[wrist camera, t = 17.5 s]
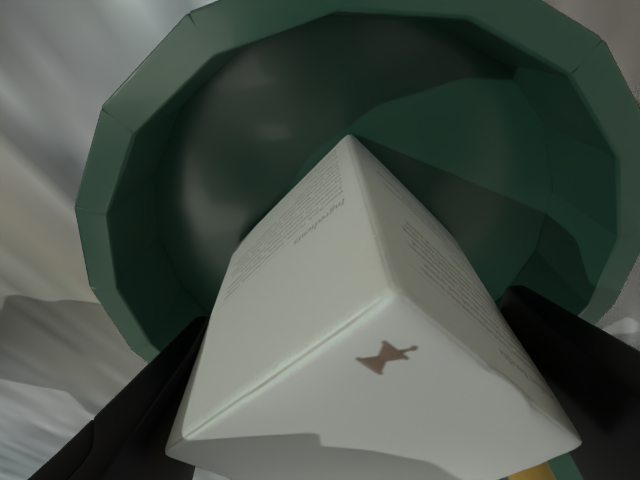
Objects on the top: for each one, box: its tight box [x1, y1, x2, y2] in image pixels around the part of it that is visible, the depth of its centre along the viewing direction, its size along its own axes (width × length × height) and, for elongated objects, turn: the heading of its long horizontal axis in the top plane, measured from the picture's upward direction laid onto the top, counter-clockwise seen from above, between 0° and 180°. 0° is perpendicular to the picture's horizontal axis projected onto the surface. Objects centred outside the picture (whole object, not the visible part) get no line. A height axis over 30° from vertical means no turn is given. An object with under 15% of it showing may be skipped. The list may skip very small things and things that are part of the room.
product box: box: [165, 135, 582, 480], centre depth 9 cm, size 6×6×7 cm
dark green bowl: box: [75, 0, 640, 363], centre depth 11 cm, size 16×16×4 cm
